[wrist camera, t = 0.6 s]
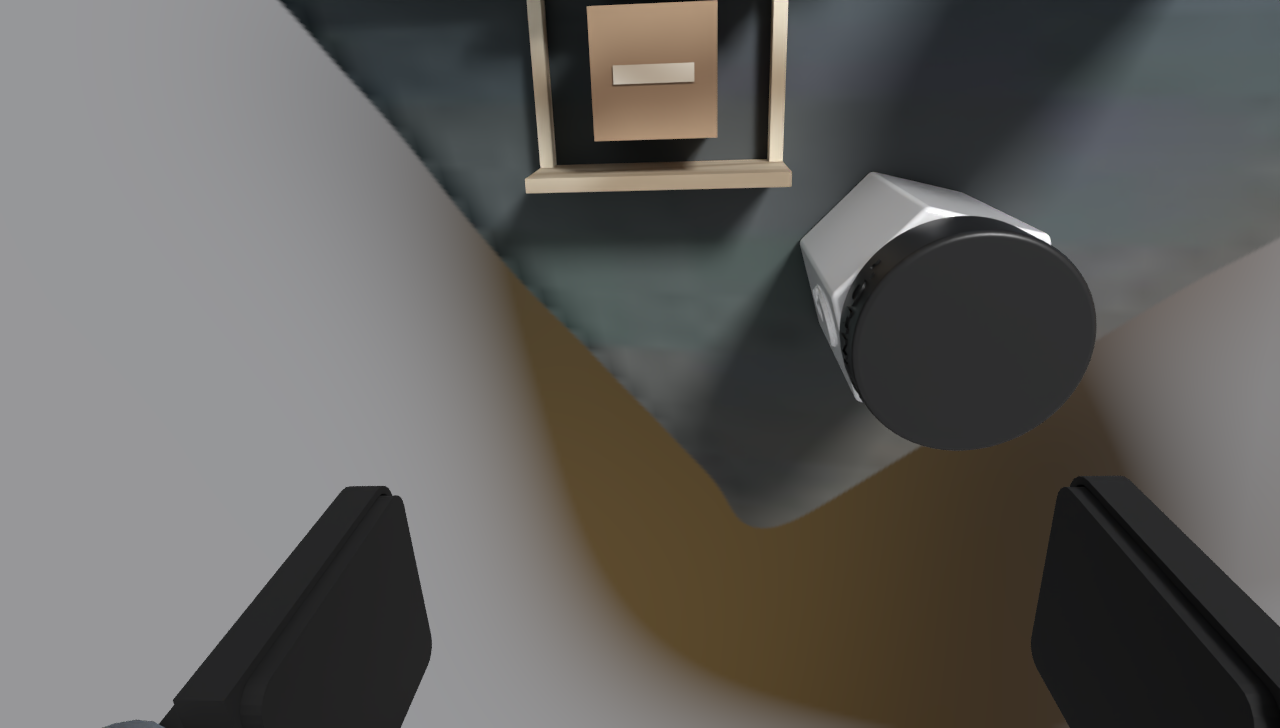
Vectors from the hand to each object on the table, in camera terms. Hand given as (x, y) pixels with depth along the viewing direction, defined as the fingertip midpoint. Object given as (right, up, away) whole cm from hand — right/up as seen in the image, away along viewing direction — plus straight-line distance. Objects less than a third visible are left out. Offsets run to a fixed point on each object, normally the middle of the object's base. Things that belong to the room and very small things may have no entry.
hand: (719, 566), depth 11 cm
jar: (+11, +8, +26) cm, 29 cm away
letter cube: (0, +16, +23) cm, 28 cm away
